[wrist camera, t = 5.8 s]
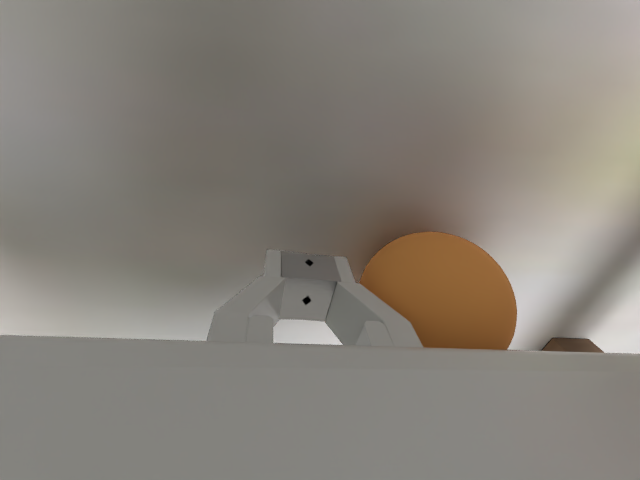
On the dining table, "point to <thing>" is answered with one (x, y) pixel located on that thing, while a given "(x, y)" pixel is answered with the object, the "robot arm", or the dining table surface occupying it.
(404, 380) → the robot arm
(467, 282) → the ball
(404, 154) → the dining table surface
